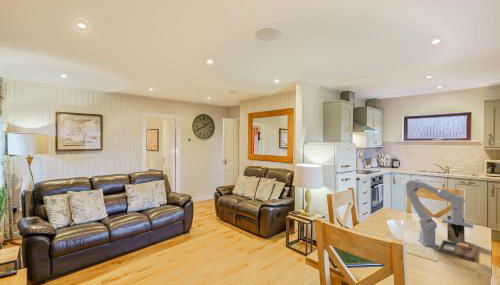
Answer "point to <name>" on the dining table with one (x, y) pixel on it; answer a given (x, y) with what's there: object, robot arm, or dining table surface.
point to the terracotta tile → (463, 245)
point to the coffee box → (452, 234)
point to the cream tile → (448, 248)
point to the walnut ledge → (465, 253)
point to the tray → (447, 243)
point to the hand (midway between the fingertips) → (457, 236)
